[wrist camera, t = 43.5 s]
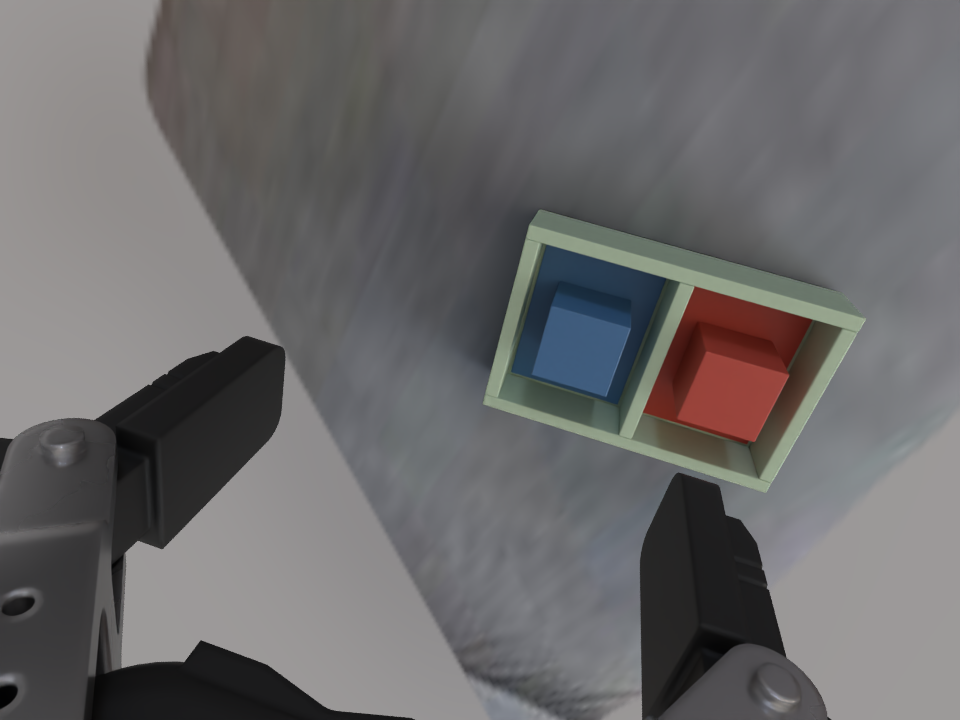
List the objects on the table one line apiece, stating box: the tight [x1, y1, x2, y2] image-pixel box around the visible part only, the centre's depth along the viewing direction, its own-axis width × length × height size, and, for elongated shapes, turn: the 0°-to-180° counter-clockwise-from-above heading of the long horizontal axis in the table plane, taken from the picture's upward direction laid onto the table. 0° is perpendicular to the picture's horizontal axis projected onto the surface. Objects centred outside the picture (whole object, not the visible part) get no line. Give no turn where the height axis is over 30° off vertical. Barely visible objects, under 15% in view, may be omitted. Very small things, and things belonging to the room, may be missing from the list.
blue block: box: [531, 281, 631, 397], centre depth 35 cm, size 4×4×4 cm
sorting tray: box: [483, 209, 866, 493], centre depth 36 cm, size 18×12×4 cm, turn 78°
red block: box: [672, 321, 789, 442], centre depth 35 cm, size 4×4×4 cm
